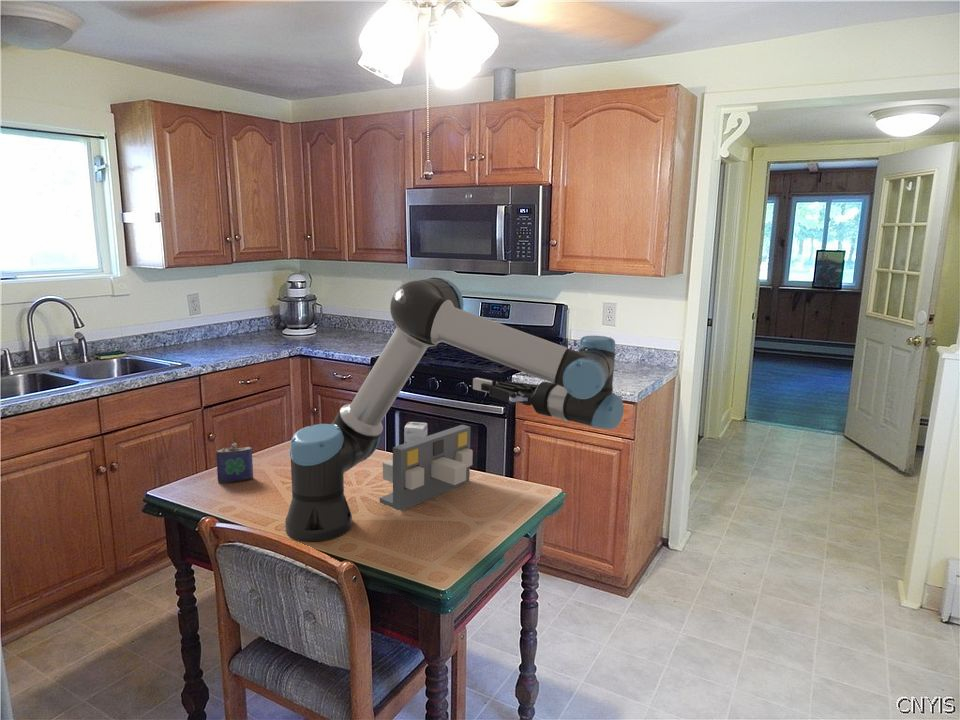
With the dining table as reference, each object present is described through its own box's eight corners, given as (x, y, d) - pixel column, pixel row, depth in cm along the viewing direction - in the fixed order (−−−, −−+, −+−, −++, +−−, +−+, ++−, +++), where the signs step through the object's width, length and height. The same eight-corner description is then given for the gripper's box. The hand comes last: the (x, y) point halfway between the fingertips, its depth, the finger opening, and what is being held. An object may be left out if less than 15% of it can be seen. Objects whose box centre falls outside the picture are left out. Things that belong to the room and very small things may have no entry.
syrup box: (427, 469, 187) (427, 421, 184) (423, 476, 181) (423, 427, 178) (408, 467, 188) (408, 420, 185) (403, 475, 182) (403, 426, 179)
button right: (461, 469, 172) (462, 453, 171) (433, 460, 178) (433, 445, 177) (472, 465, 175) (472, 449, 174) (444, 456, 181) (444, 441, 181)
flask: (253, 476, 178) (251, 440, 176) (253, 480, 176) (252, 443, 174) (217, 480, 175) (215, 443, 173) (217, 484, 172) (215, 447, 170)
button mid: (454, 485, 161) (455, 468, 160) (424, 474, 167) (425, 458, 166) (466, 480, 164) (466, 464, 163) (436, 470, 171) (436, 454, 170)
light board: (402, 511, 158) (402, 450, 155) (379, 502, 163) (379, 442, 160) (470, 481, 178) (471, 427, 175) (448, 474, 183) (449, 421, 180)
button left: (411, 489, 157) (411, 473, 156) (382, 479, 164) (382, 462, 163) (424, 484, 160) (424, 468, 160) (395, 474, 167) (395, 458, 166)
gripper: (538, 422, 139) (457, 402, 153) (569, 410, 148) (490, 393, 163) (539, 389, 137) (457, 372, 152) (571, 379, 147) (491, 364, 162)
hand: (474, 383), depth 157 cm, fingers closed
